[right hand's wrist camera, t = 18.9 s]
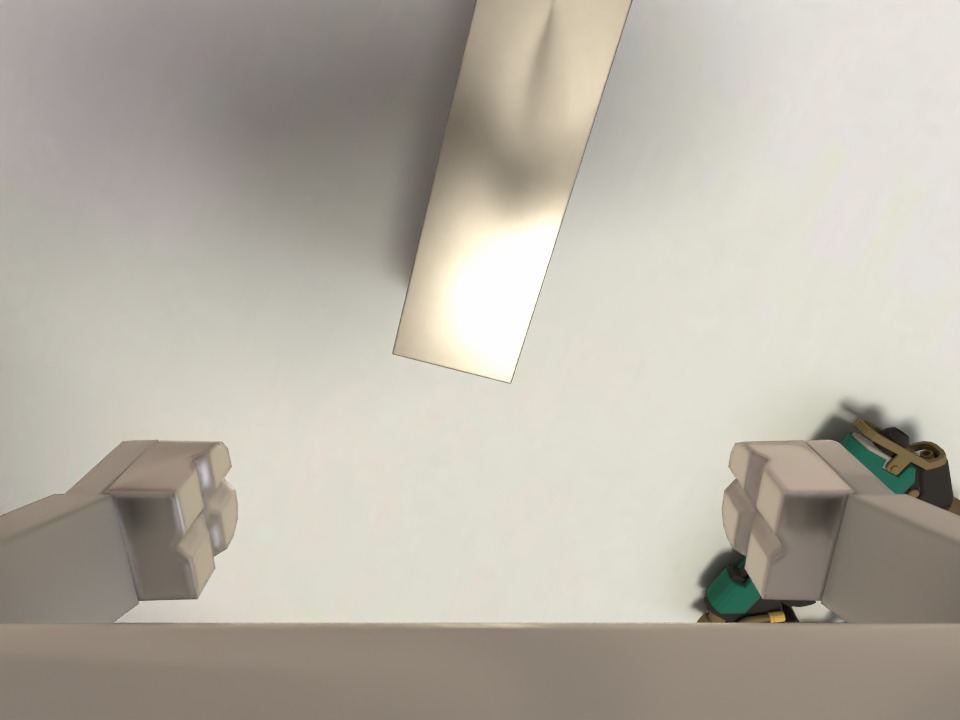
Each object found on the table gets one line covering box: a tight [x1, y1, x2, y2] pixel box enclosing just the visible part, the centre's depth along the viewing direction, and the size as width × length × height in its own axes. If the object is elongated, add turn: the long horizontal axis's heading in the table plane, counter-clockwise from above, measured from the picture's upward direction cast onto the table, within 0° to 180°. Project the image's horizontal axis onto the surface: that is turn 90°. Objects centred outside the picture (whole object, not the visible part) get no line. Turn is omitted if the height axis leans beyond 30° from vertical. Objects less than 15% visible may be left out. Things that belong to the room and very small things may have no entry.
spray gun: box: [697, 418, 960, 623], centre depth 36 cm, size 4×17×15 cm
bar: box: [392, 0, 632, 383], centre depth 24 cm, size 26×5×8 cm, turn 165°
